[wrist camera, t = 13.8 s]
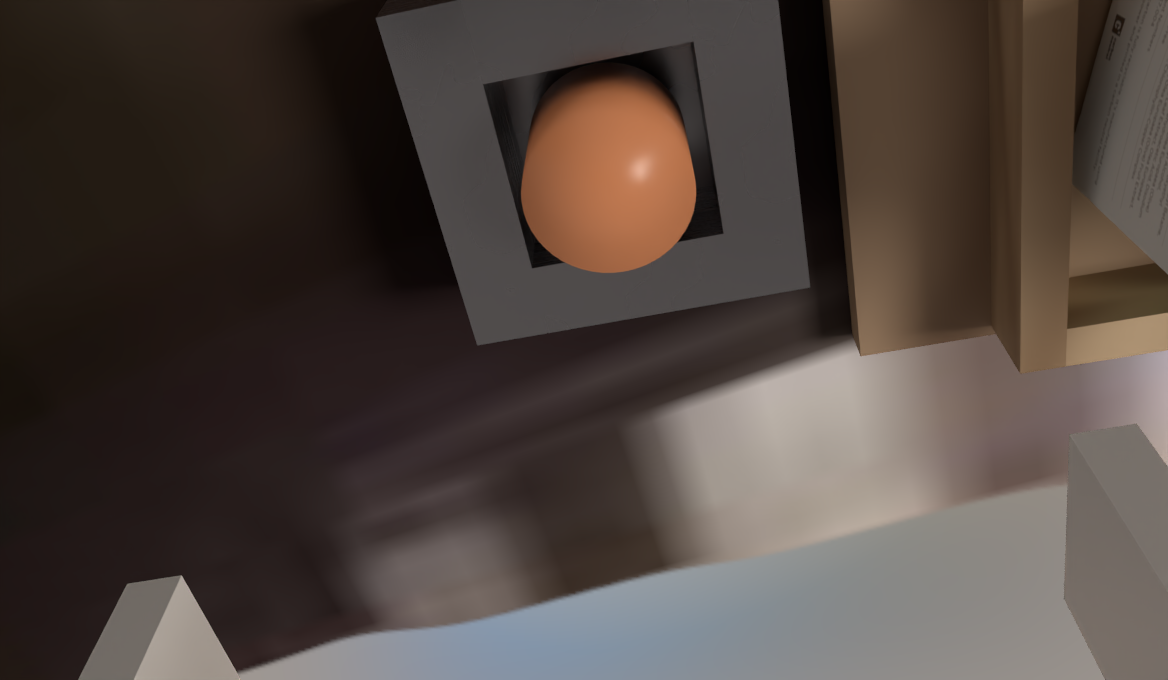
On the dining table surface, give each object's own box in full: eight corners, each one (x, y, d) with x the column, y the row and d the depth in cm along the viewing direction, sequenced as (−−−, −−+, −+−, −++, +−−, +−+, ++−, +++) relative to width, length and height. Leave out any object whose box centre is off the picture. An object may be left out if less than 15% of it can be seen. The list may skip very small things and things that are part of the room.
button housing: (488, 282, 32) (477, 345, 29) (400, -20, 27) (375, 17, 24) (789, 228, 31) (810, 287, 28) (750, -97, 26) (770, -67, 23)
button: (548, 223, 29) (543, 285, 26) (512, 80, 26) (502, 130, 24) (696, 195, 28) (708, 256, 25) (671, 47, 26) (681, 95, 23)
